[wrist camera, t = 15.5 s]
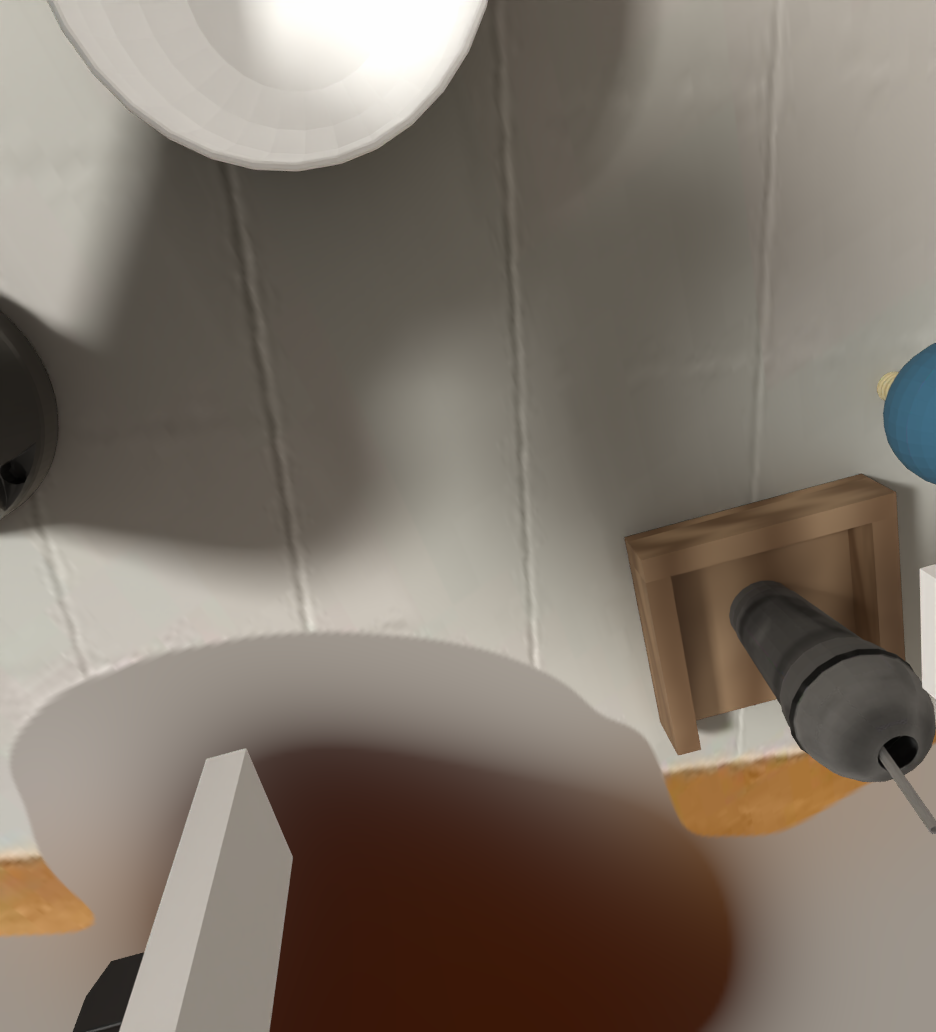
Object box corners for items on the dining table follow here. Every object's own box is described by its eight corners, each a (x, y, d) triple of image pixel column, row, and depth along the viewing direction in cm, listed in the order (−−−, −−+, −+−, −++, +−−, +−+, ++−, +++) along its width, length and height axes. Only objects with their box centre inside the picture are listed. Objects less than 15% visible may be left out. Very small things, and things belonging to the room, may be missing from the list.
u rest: (660, 722, 56) (678, 755, 53) (624, 537, 51) (641, 560, 47) (874, 665, 56) (907, 694, 53) (861, 473, 51) (896, 492, 47)
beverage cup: (826, 630, 54) (1054, 843, 35) (728, 673, 54) (902, 906, 36) (796, 543, 51) (1025, 723, 33) (694, 590, 52) (862, 793, 33)
